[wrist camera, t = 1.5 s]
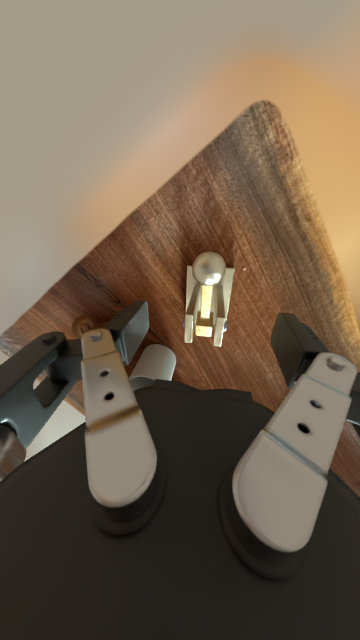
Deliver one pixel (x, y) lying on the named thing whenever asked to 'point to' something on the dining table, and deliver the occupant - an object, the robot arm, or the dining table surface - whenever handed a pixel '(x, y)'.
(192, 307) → the switch bracket
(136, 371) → the cup
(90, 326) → the mug
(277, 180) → the dining table surface
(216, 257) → the switch lever
